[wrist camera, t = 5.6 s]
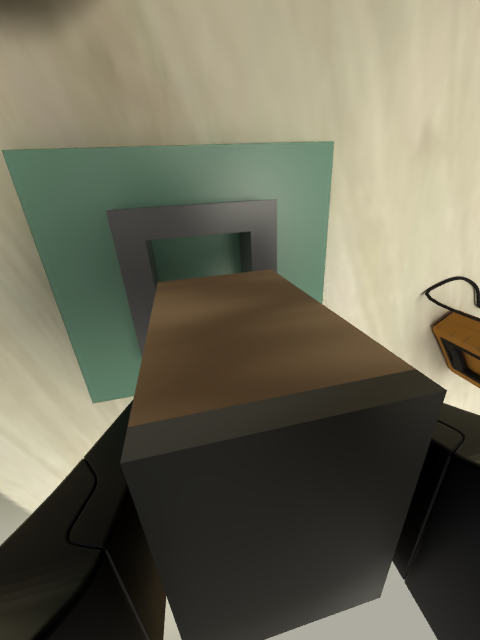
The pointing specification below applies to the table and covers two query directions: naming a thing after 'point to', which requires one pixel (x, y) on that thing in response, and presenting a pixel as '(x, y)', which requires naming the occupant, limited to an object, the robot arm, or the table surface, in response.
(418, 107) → the table surface
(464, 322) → the multimeter
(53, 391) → the table surface
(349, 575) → the plug
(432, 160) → the table surface
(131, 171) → the board
